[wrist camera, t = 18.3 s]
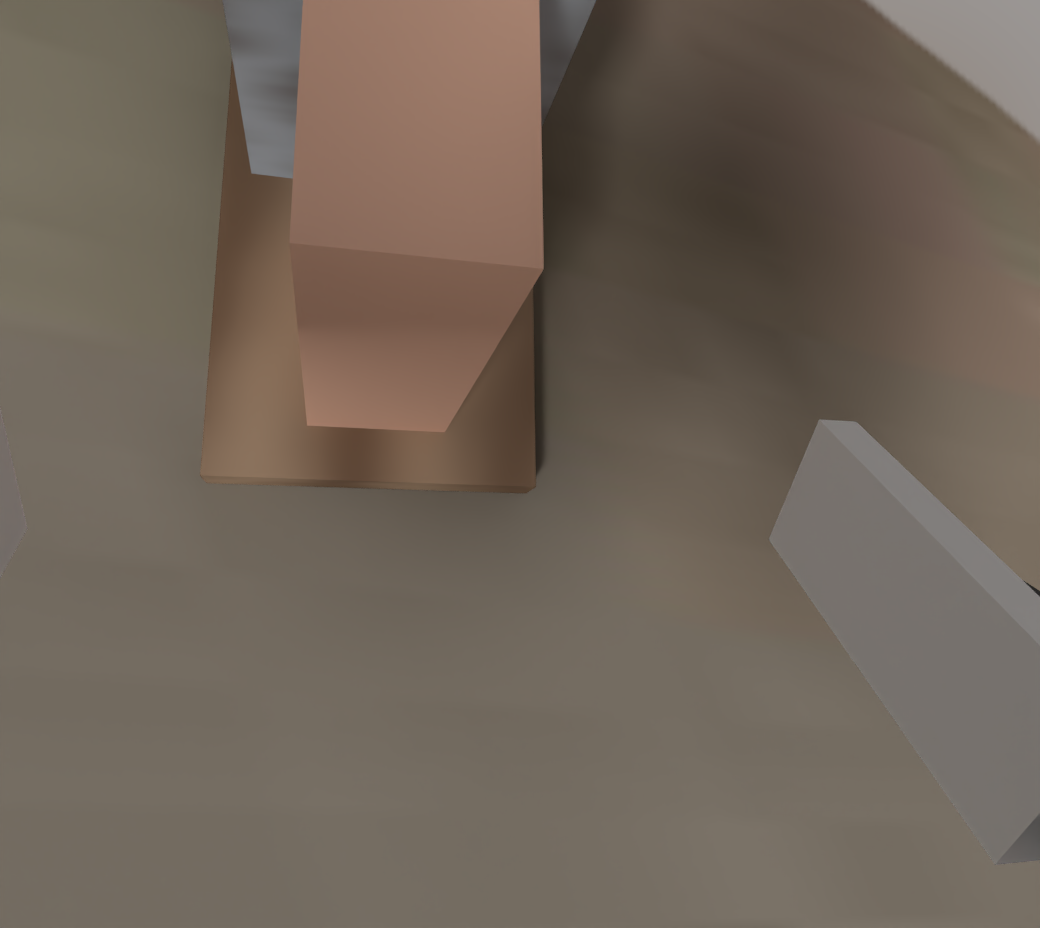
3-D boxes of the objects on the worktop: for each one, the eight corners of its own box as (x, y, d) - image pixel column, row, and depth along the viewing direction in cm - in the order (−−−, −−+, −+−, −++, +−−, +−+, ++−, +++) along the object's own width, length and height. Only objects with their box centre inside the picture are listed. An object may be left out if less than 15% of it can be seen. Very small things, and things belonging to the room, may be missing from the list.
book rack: (206, 483, 28) (55, 302, 13) (238, 52, 32) (152, -505, 16) (526, 493, 31) (730, 356, 15) (521, 96, 35) (683, -342, 19)
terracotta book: (307, 425, 28) (289, 242, 15) (316, 222, 30) (308, -108, 16) (444, 432, 29) (543, 268, 16) (446, 236, 31) (538, -61, 17)
